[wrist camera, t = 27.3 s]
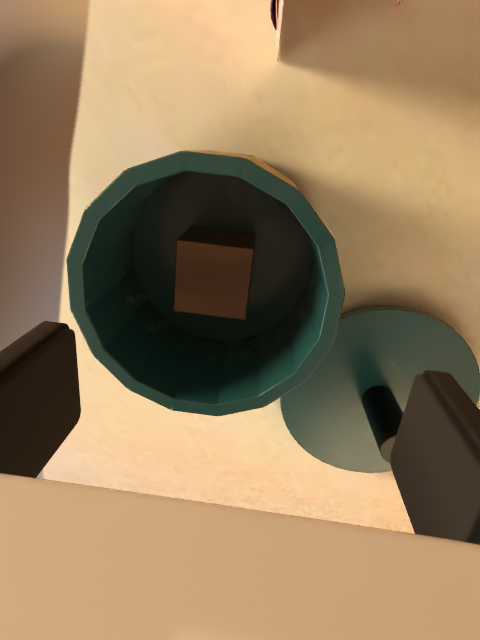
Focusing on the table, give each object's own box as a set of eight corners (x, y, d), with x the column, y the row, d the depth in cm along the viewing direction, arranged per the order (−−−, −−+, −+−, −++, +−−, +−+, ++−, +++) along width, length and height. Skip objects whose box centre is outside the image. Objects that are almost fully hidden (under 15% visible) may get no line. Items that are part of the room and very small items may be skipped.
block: (248, 295, 28) (245, 320, 24) (187, 288, 28) (173, 311, 24) (256, 233, 26) (253, 248, 22) (190, 225, 26) (176, 239, 22)
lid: (438, 472, 33) (476, 545, 27) (268, 450, 34) (268, 517, 27) (502, 316, 27) (570, 363, 21) (295, 290, 28) (303, 330, 22)
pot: (302, 356, 30) (314, 429, 22) (126, 334, 30) (76, 398, 22) (339, 165, 24) (373, 172, 17) (123, 140, 25) (56, 135, 17)
